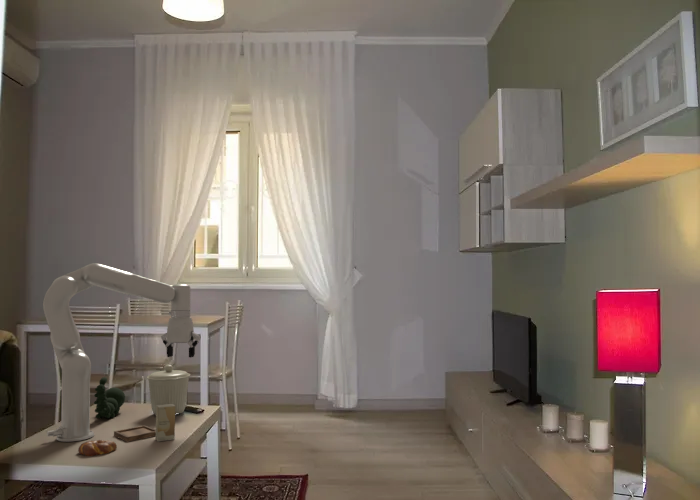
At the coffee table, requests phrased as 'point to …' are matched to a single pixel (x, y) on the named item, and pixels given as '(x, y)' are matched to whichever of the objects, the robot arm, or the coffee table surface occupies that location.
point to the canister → (168, 388)
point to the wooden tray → (135, 433)
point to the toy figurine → (108, 400)
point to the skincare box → (165, 422)
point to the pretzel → (96, 447)
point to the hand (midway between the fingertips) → (180, 356)
